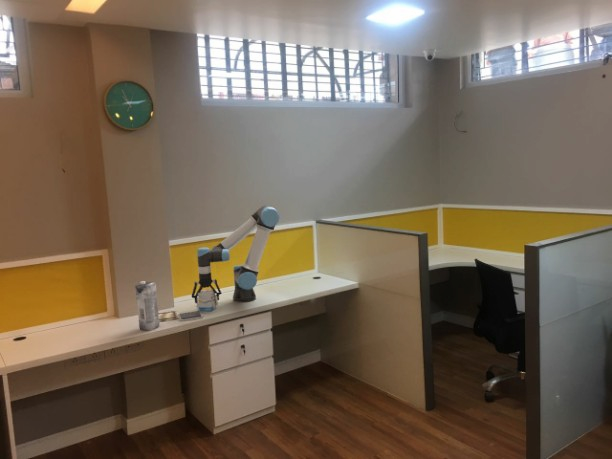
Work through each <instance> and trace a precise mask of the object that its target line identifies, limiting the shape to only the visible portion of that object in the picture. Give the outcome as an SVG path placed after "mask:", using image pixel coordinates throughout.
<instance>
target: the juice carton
mask: <svg viewBox="0 0 612 459" xmlns="http://www.w3.org/2000/svg"><path fill="white" fill-rule="evenodd" d="M134 288H135V294H136V304H137V305H136V306H137V316H138V317H137V318H138V324H139V325H138V326H139V330H140V331H146V332H147V331H152V330H154V329H156V328H159V327H160V322H159V313H160V312H159V304H158V295H157V294H158V293H157V282H154V281H153V282H152V281H145V280H143V281H139V284H136V285H135V286H134Z"/></svg>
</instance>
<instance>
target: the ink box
mask: <svg viewBox="0 0 612 459" xmlns="http://www.w3.org/2000/svg"><path fill="white" fill-rule="evenodd" d="M215 295H216V293H215V292H214V291H213V290H212V289H202V290H201V291H200V293H198V303H199V309H198V311H200V312H213V311H214V310H215V309H216V308H217V306H216V298H215Z"/></svg>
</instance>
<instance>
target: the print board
mask: <svg viewBox="0 0 612 459" xmlns="http://www.w3.org/2000/svg"><path fill="white" fill-rule="evenodd" d="M158 313H159V323H161V322H168V321H175V320H180V319H179V316H178V314H179V313H178V312H177V311H176V310H173V311H172V310H171V311H165V312H158Z"/></svg>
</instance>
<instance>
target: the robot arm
mask: <svg viewBox="0 0 612 459" xmlns="http://www.w3.org/2000/svg"><path fill="white" fill-rule="evenodd" d="M279 221H280V214H279V212H278V210H277V209H276V208H274V207H272V206H270V205H263V206H261V207H260V208H258V209H257V210H256V211H255V212H254V213H253V214H252V215H250V218H249V219H248V220H246V221H245V222H244V223H242V224H241V226H239V227H238V228H237V229H236V230H234V231H232V232H231V233H230V234H229V235H228V236H227V237H225V238H224V239H223V240H222V241H221V242H219V243H218V244H217V245H214V246H213V247H212V248H211V249H210V248H209V247H205V246H203V247H199V248H198V249H197V251H196V253H197V254H196V256H197V257H196V258H197V265H198V268H197V269H198V281H194V282H193V284H194V286H193V289H192V292H191V298H193V299H194V303H195V304H196V308H197V309H198V310H199V302H198V293H200V291H202V290H203V289H204V288H210V290H213V291H214V292H215V298H216V307H218V306H219V302H218V301H220V295H222V293H223V292H222V291H221V289H220V286H219V284H218V281H217V280H218V279H215V278H214V279H212V268H211V263H220V262H221V263H222V262H228V261H229V260H230V257H231V256H230V250H231V249H233V248H234V247H235V246H236V245H238V244H239V243H240V242H242V241H243V240H244V239H245V238H247V237H248V236H249V235H250V234H251V233H253V232H254V231H255V233H254V236H253V240H252V242H251V245H250V248H249V250H248V253H247V256H246V259H245V262H244V263H243V264H239V265H234V266H233V269H232V270H233V278H234V279H233V280H234V281H233V282H234V290H233V293H232V294H233V295H232V301H233V302H235V303H248V302H252V301H255V300H256V299H257V295H256V292H255V289H254V288H255V286H256V285H257V282H258V278H257V277H258V275H259V273H260V269H259V265H260V262H261V260H262V257H263V253H264V251H265V248H266V246H267V242H268V240H269V237H270V234H271V233H272V232H274V230H275V227H276V225H277V224H278V223H279ZM212 283H213V284H214V285H215V287H216V289H217V290H216V289H215V288H214V287H213V285H212ZM198 285H199V287H198ZM197 287H198V288H197ZM197 289H198V290H197ZM217 291H218V292H217Z"/></svg>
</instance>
